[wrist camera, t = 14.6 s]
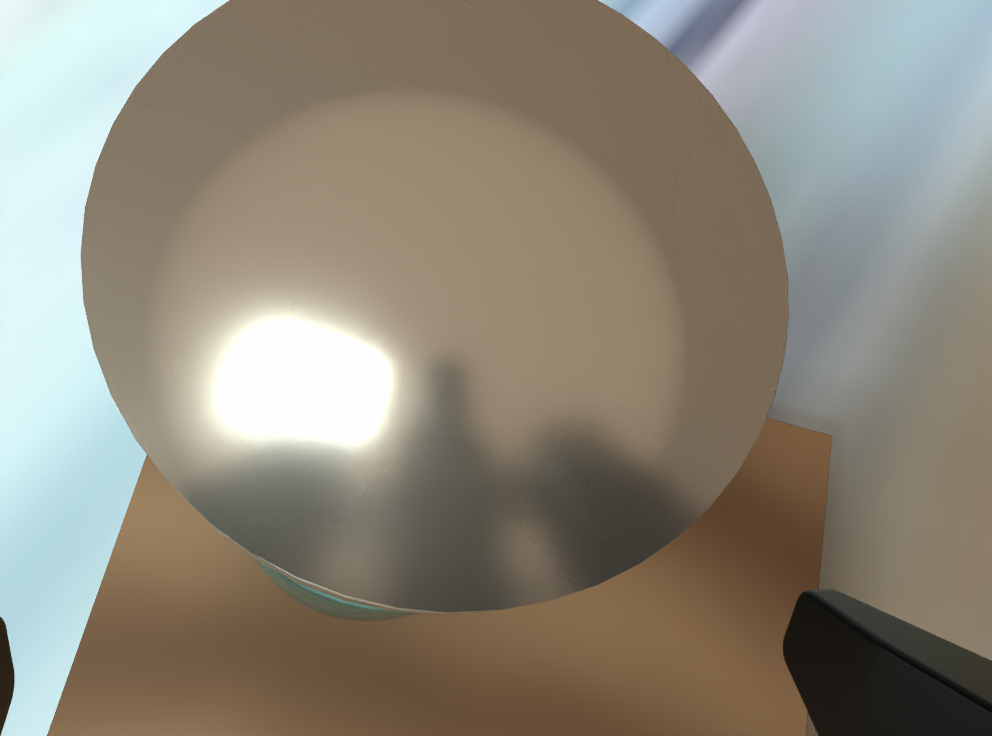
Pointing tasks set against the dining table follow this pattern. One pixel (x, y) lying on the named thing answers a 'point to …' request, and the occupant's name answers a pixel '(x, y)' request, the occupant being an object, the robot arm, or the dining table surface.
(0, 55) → the dining table surface
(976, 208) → the dining table surface
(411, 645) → the walnut board
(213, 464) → the teal tin
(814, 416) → the dining table surface
